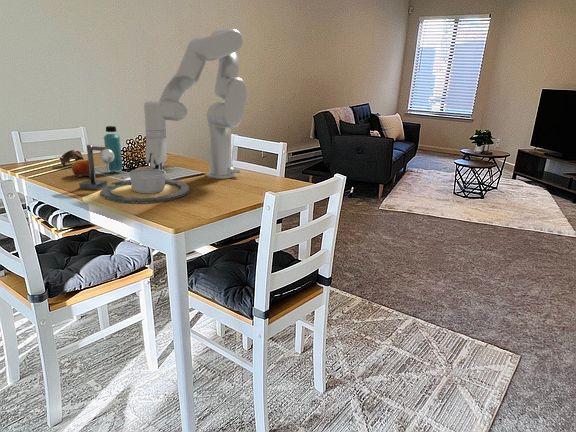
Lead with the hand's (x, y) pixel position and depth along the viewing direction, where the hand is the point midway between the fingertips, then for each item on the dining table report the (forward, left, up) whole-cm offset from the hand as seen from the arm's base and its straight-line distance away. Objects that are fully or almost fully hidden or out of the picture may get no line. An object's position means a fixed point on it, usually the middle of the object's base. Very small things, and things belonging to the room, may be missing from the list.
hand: (158, 179), depth 167 cm
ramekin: (0, +10, -2) cm, 10 cm away
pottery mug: (+48, -20, -2) cm, 52 cm away
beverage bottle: (+25, -13, -2) cm, 28 cm away
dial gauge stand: (+18, +11, -2) cm, 22 cm away
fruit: (+34, -4, -2) cm, 34 cm away
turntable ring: (0, +11, -2) cm, 12 cm away
